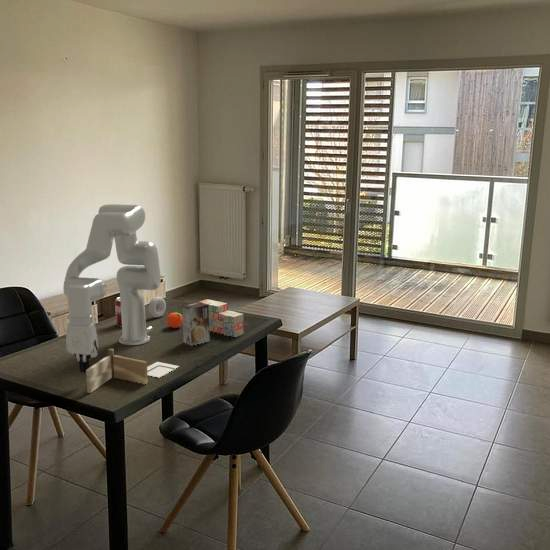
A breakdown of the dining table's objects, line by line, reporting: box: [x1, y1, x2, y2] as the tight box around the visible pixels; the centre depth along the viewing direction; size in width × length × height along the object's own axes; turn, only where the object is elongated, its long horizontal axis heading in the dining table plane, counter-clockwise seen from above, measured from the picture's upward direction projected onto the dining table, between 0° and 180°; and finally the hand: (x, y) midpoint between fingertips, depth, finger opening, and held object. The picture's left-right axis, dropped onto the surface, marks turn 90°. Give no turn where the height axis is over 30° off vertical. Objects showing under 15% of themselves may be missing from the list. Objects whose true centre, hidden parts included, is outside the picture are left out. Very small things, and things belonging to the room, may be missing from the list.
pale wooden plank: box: [85, 355, 113, 394], centre depth 214 cm, size 14×1×8 cm, turn 165°
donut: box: [148, 296, 167, 319], centre depth 292 cm, size 10×4×10 cm, turn 145°
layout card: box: [147, 361, 180, 379], centre depth 229 cm, size 12×10×1 cm
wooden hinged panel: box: [107, 348, 149, 385], centre depth 219 cm, size 2×16×10 cm, turn 63°
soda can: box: [114, 297, 122, 328], centre depth 280 cm, size 7×7×12 cm
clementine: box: [166, 311, 183, 329], centre depth 277 cm, size 8×7×7 cm
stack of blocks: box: [199, 298, 244, 338], centre depth 271 cm, size 21×6×12 cm, turn 51°
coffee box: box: [181, 301, 211, 347], centre depth 257 cm, size 9×6×16 cm
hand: (84, 371), depth 214 cm, fingers closed
